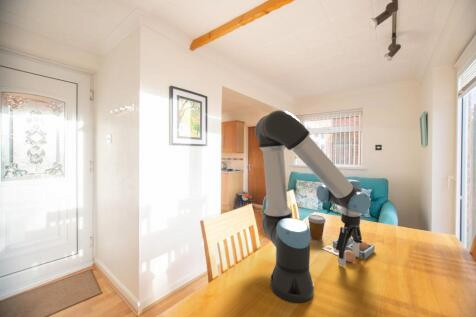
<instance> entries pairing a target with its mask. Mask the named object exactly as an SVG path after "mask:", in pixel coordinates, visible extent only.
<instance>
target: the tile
mask: <svg viewBox="0 0 476 317" xmlns="http://www.w3.org/2000/svg"><path fill="white" fill-rule="evenodd" d="M321 249H322V250H324V251H327V252H329V253H331V254H333V255H336V256H339V250H336V248H334V247H333V246H331V245H326V246H324V247H322V248H321Z"/></svg>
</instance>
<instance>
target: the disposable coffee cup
mask: <svg viewBox="0 0 476 317" xmlns="http://www.w3.org/2000/svg"><path fill="white" fill-rule="evenodd" d="M307 219H308V227H309V229H310V236H311V240H312V239H313V240H316V241H321V240H322V239H323V234H324V229H325V223H326V218H325V217H324V216H323V215H319V214H310V215H308V218H307Z"/></svg>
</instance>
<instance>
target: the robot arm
mask: <svg viewBox="0 0 476 317" xmlns="http://www.w3.org/2000/svg"><path fill="white" fill-rule="evenodd" d="M254 134H255V136H256V138H257V140H258V148H259V149H260V150H261V152H262V153H263V154H262V155H263V168H264V182H265V193H266V194H265V195H266V208H265V209H264V210H263V214H264V215H263V218H262V229H263V231H264V234H265V235H266V236H267V238H269V240H270V242H271V243H272V244H273V245H274V246H275V265H274V267H273V270H272V273H271V276H270V283H269V284H270V289H271V291H272V292H273V293H274V294H275V295H276V296H277V297H279V298H280V299H281V300H284V301H287V302H289V303H295V304H296V303H297V304H300V303H301V304H302V303H307V302H308V301H310V300H311V299H312V298H313V296H314V295H315V294H314V293H315V284H314V282H313V279H312V274H311V272H310V262H311V261H310V259H311V258H310V255H311V242H312V241H311V240H312V238H311V236H310V228H309V225H307V224H306V223H305V222H303V221H302V220H298V219H296V218H293V211H292V209H291V208H290V207H289V206H288V194H287V192H288V191H287V190H288V189H287V180H286V179H287V178H286V175H287V174H286V165H285V164H286V163H285V149H287V150H288V151H292V152H293V153H295V155H296V156H297V157H298V158H299V160H301V161H302V162H303V163H304V165H305V166H307V168H308V169H309V170H310V171H311V172H312V173H313V174H314V175H315V177H316V178H318V180H319V181H320V182H321V183H322V184H320V185H318V186H317V188H316V198H317V199H318V201H319V202H321V203H332V204H334V205H337V206H340V207H341V208H340V209H341V210H340V211H341V214H340V216H341V217H340V221H341V222H342V223H343V224H344V226H340V229H339V234H338V238H337V239H338V242H337V246H336V250H339V255H338V263H337V264H338V265H339V266H341V267H344V268H346V266H347V265H346V262H347V261H346V251H345V249H346V246H347V244H348V241H349V238H353V240H354V241H353V247H352V252H353V253H354V254H355V258H356V257H357V258H359V251H360V249H359V243H362V241H363V237H362V233H361V227H360V225H361V216H360V215H361V214H363V213H364V214H365V212H367V211H369V209H370V208H371V203H372V201H371V197H370V196H369V194H366V193H365V192H362V191H363V190H362V183H361V181H360V180H356V179H348V178H347V177H346V176H345V175H344V174H343V173H342V172H341V170H340V169H339V168H338V167H337V166H336V165H335V163H333V162H332V160H331V159H330V158H329V157H328V155H326V153H325V152H324V151H323V150H322V149H321V148H320V146H318V144H317V143H316V142H315V141H314V140H313V139H312V137H311V136H310V135H311V133H310V131H309V129H307V127H306V126H305V125H304V124H303V123H302V122H301V121H300V119H298V118H297V117H296V116H295V115H294V114H293V113H291V112H288V111H286V110H281V109H280V110H279V109H278V110H274V111H272V112H270V113H269V114H266V115H264V116H263V117H262V118H260V119H259V120H258V122H257V123H256V125H255V130H254Z"/></svg>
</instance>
